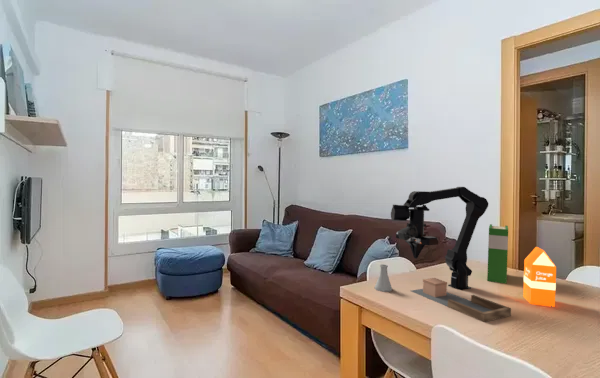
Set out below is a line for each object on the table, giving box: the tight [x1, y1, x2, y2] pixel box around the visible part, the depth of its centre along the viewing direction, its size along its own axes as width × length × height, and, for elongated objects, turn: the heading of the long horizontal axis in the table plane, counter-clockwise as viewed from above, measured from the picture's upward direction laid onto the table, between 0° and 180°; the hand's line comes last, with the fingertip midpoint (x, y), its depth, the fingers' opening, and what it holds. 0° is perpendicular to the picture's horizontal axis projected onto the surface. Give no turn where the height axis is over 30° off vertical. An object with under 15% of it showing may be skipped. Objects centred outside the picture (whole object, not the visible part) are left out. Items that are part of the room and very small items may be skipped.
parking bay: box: [447, 294, 512, 323], centre depth 113 cm, size 13×14×2 cm
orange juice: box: [522, 246, 557, 308], centre depth 124 cm, size 8×9×20 cm
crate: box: [422, 277, 448, 297], centre depth 130 cm, size 6×6×5 cm
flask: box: [374, 263, 393, 293], centre depth 135 cm, size 7×7×10 cm
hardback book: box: [486, 223, 509, 285], centre depth 155 cm, size 18×7×24 cm, turn 149°
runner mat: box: [410, 288, 491, 323], centre depth 121 cm, size 13×32×1 cm, turn 25°
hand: (415, 258), depth 139 cm, fingers closed
